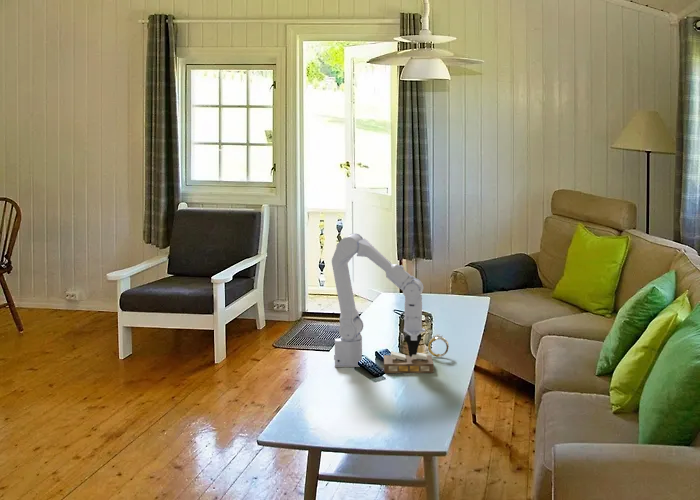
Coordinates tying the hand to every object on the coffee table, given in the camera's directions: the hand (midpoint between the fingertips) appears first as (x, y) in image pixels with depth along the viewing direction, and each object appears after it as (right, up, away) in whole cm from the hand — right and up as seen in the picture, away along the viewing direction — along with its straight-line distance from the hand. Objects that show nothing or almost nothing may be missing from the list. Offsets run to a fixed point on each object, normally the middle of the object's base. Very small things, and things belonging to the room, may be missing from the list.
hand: (412, 356), depth 278 cm
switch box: (-1, -4, +1) cm, 4 cm away
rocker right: (+2, 0, 0) cm, 2 cm away
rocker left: (-5, 0, 0) cm, 5 cm away
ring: (+10, -2, +13) cm, 17 cm away
